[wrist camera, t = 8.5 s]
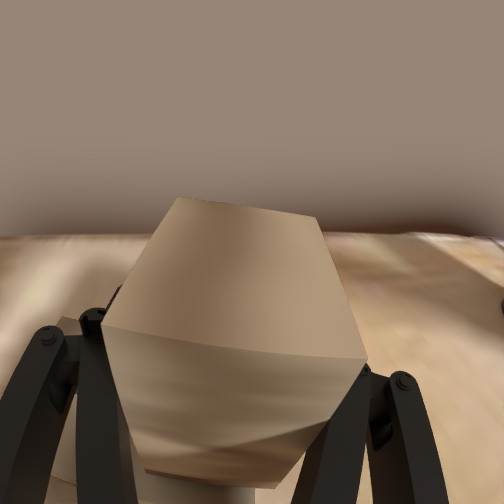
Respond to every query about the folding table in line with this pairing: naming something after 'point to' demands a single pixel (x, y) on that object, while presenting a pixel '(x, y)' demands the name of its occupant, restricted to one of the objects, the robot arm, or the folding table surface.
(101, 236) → the folding table surface
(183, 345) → the block
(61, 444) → the board
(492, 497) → the folding table surface
